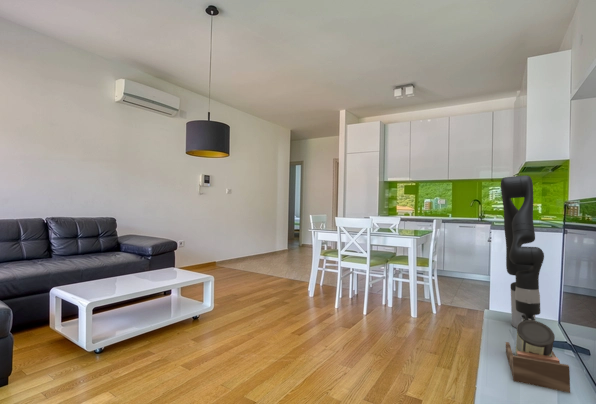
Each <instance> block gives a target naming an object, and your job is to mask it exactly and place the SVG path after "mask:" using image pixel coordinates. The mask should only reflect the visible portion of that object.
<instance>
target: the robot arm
mask: <svg viewBox="0 0 596 404" xmlns="http://www.w3.org/2000/svg"><path fill="white" fill-rule="evenodd" d="M500 192H501V199H502V207H503V229H504V238H505V254H506V255H505V260H506V262H505V265H506V266H505V267H506V271H507V272H506V273H507V274H509V276H515V281H514V282H511V283H510V307H511V308H510V310H511V311H510V312H511V317H510V318H511V326H512V327H514V328H516V329H517V325H518V324H519V323H520V322H522V321H525V320H533V321H536V316H538V315H541V295H540V294H541V293H540V284H539V283H540V282H539V277H540V272H541V268H542V266H543V264H544V260H545V253H544V251H543V250H542V249H541V248H540V247H538V246H523V245H525V244H526V245H527V244H531V243H533V242H535V241H536V232H535V226H534V225H535V224H534V185H533V179H532V178H531V176H529V175H516V176H514V175H513V176H507V177H503V178H501V181H500ZM520 198H523V203H522V205H521V206H520V208H519V209H518V208H517V207H516V206H515V204H514V202H513V200H512V199H520Z"/></svg>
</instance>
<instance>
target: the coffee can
mask: <svg viewBox="0 0 596 404" xmlns="http://www.w3.org/2000/svg"><path fill="white" fill-rule="evenodd" d="M555 337H556V336H555V334H554V332H553V330H552V329H551V328H550V327H549V326H547V325H546V324H545V323H543V322H540V321H537V320H535V321H533V320H525V321H522V322H520V323H519V324H518V325H517V328H516V340H515V341H516V342H515V353H514V356H517V351H522V352H528V353H533V354H538V355H546V356H551V355H552V351H553V347H554V342H555Z"/></svg>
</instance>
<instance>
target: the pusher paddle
mask: <svg viewBox="0 0 596 404" xmlns="http://www.w3.org/2000/svg"><path fill="white" fill-rule="evenodd" d="M517 356H520V357H526V358H531V359H537V360H543V361H549V362H554V363H560V364H561V362H560V361H561V360H559V358H558V357H557V356H556V357H551V356H546V355H538V354H533V353H528V352H522V351H517Z"/></svg>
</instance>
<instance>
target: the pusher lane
mask: <svg viewBox="0 0 596 404" xmlns="http://www.w3.org/2000/svg"><path fill="white" fill-rule="evenodd" d="M505 354H506V357H507V361H508V365H509V368H510V372H511V375H512V380H513V382H516V383H520V384H521V383H522V384H526V385H531V386H535V387H541V388H546V389H550V390H554V391H555V390H556V391H560V392H564V393H565V392H566V393H571V380H570V379H571V373H570V371H571V370H570V365H569V364H565V363H561V362H560V363H554V362H549V361H543V360H537V359H531V358H526V357H520V356H515V354H513V349H512V347H511V344H510V341H505ZM551 357H557V356H556V354H555V352H554V350H552V355H551Z"/></svg>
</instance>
